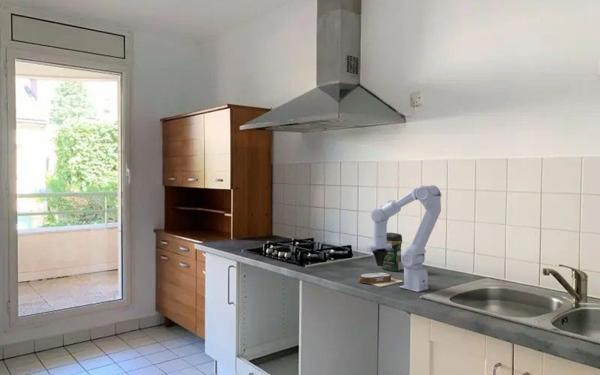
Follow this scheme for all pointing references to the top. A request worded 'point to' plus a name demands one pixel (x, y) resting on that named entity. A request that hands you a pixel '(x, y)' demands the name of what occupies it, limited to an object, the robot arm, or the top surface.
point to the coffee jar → (393, 253)
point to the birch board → (386, 283)
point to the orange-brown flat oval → (374, 277)
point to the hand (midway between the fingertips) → (379, 265)
